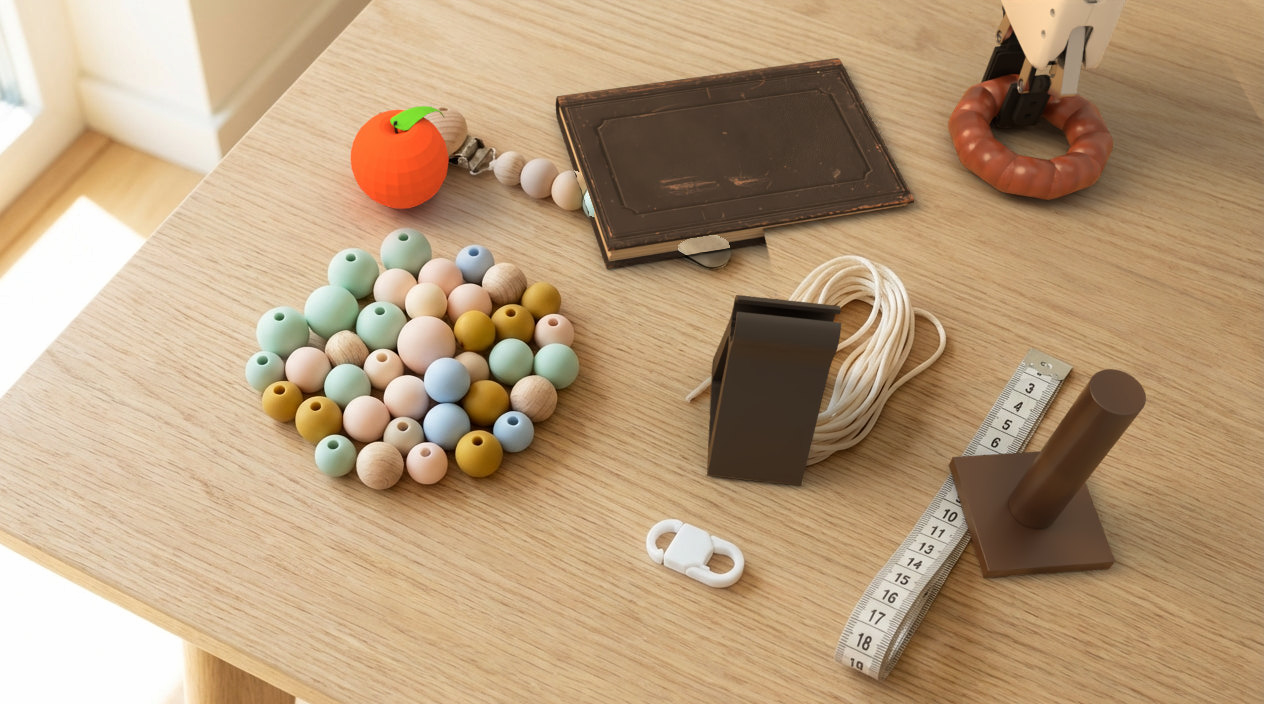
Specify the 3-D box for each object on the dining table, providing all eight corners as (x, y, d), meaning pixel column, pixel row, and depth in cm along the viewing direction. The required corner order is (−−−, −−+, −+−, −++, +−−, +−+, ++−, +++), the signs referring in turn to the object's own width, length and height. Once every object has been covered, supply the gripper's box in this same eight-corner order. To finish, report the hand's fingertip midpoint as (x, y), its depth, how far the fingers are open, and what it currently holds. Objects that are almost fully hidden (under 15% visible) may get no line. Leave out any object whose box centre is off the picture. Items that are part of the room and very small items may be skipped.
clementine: (414, 138, 93) (407, 65, 87) (480, 184, 90) (478, 112, 85) (336, 194, 89) (323, 122, 83) (402, 244, 87) (394, 173, 81)
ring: (1071, 90, 96) (1084, 62, 94) (1124, 203, 89) (1140, 176, 87) (928, 97, 95) (938, 69, 93) (971, 211, 89) (982, 185, 86)
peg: (1067, 456, 79) (1162, 327, 68) (1109, 568, 75) (1218, 451, 63) (948, 464, 78) (1023, 335, 67) (983, 578, 74) (1070, 460, 62)
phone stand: (712, 362, 82) (739, 245, 72) (800, 372, 82) (840, 256, 72) (705, 477, 77) (734, 368, 67) (800, 488, 77) (842, 381, 67)
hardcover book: (906, 221, 90) (915, 199, 88) (606, 269, 86) (608, 248, 84) (831, 75, 99) (837, 53, 97) (555, 113, 95) (555, 91, 93)
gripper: (1200, -29, 75) (1089, 180, 90) (1108, -179, 84) (1022, 34, 100) (1082, -24, 75) (991, 186, 90) (1003, -176, 84) (933, 38, 99)
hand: (1008, 104), depth 94 cm, fingers closed on ring, 3 cm apart
